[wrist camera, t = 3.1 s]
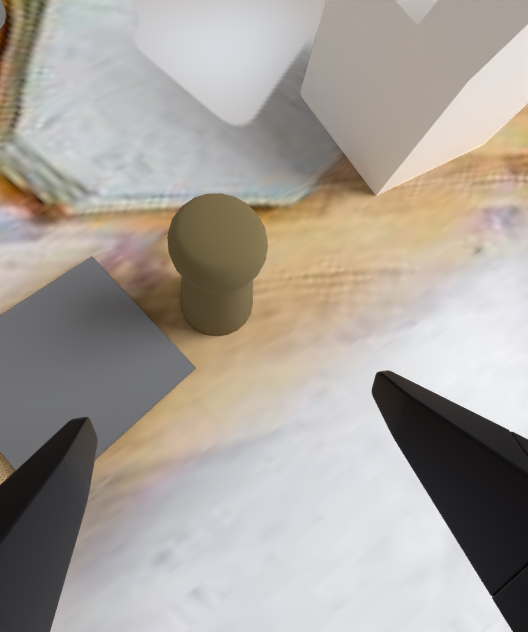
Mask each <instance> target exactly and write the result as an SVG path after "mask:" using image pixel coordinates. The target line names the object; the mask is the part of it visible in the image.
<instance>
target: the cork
mask: <svg viewBox="0 0 528 632" xmlns="http://www.w3.org/2000/svg"><path fill="white" fill-rule="evenodd" d="M167 238H168V250H169V254H170V257H171V259H172V261H173V264H174V266H175V268H176V270H177V271H178V272H179V273H180V274H181V275H182V286H181V307H182V312H183V314H184V316H185V318H186V320H187V321H188V323H189V324H190V325H191V326H192V327H193V328H194V329H196V330H198V331H200V332H202V333H204V334H207V335H213V336H221V335H228V334H230V333H232V332H234V331H237V330H238V329H239V328H240V327H241V326H243V325H244V324H245V323H246V321H247V319H248V318H249V316H250V314H251V310H252V304H253V279H254V278H255V277H256V276H257V275H258V273H259V272H260V270H261V268H262V266H263V265H264V262H265V260H266V254H267V248H268V243H267V236H266V231H265V227H264V225H263V223H262V221H261V220H260V218H259V216H258V215H257V214H256V212H255V211H254V210H253V209H251V208H250V207H249V206H248V205H247V204H246V203H245V202H243V201H241V200H239V199H237V198H235V197H233V196H229V195H225V194H205V195H202V196H199V197H195V198H194V199H192V200H191V201H189V202H188V203H186V204H185V205H183V206H182V207H181V208H180V209H179V211H178V212H177V213H176V215H175V216H174V217H173V218H172V222H171V225H170V228H169V232H168V237H167Z"/></svg>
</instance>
